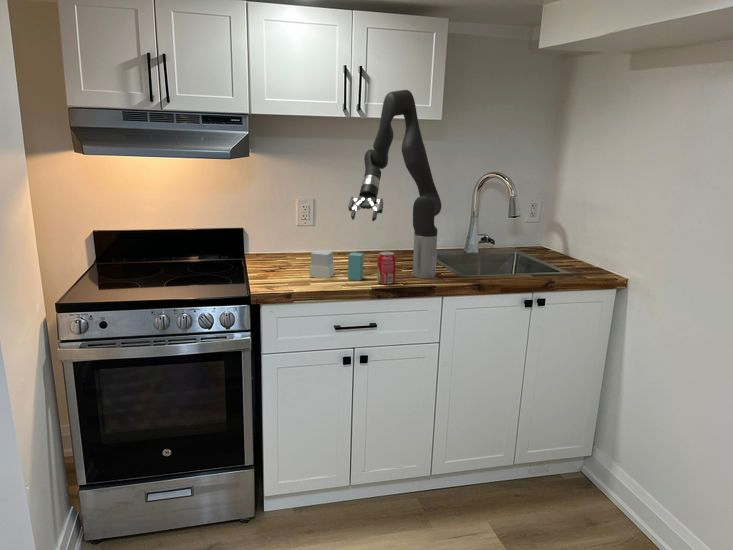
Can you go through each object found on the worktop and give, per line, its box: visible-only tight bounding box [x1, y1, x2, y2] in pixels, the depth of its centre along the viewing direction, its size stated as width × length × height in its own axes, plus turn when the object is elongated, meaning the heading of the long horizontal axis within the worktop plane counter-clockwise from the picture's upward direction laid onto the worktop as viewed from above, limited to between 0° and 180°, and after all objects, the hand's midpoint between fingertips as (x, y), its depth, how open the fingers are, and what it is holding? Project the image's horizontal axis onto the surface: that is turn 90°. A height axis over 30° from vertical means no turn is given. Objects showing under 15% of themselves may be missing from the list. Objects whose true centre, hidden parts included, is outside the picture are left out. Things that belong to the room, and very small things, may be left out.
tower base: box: [308, 262, 335, 280], centre depth 222 cm, size 8×8×5 cm
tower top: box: [310, 249, 334, 267], centre depth 221 cm, size 7×7×5 cm
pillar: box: [347, 252, 365, 281], centre depth 218 cm, size 5×5×10 cm
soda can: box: [376, 251, 397, 285], centre depth 213 cm, size 7×7×12 cm
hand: (363, 219), depth 225 cm, fingers open, 8 cm apart
